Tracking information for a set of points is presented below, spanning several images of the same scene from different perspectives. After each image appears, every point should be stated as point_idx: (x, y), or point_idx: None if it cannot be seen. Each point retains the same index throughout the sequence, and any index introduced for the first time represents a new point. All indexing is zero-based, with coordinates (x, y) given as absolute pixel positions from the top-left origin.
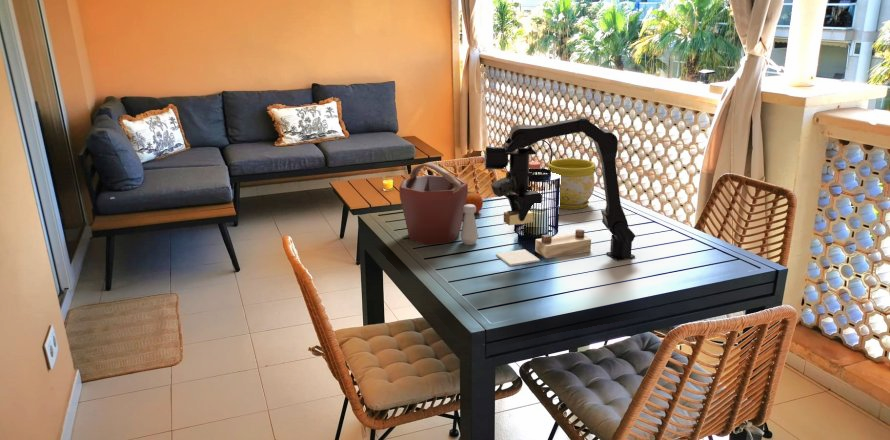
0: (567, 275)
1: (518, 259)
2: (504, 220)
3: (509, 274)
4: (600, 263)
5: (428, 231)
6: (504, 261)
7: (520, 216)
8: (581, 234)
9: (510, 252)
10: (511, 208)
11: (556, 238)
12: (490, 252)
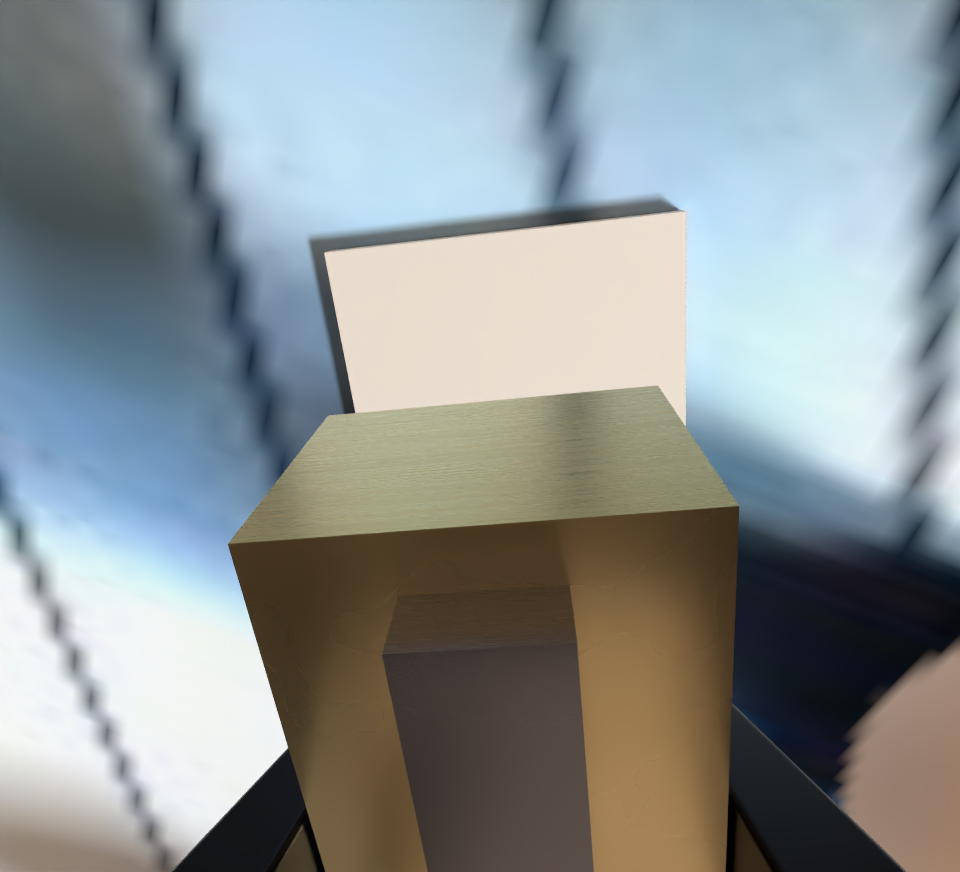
0: (54, 614)
1: (434, 381)
2: (613, 405)
3: (109, 159)
4: None
5: None
6: (464, 235)
7: (243, 795)
8: None
9: (655, 378)
10: (847, 859)
11: None
12: (801, 179)
